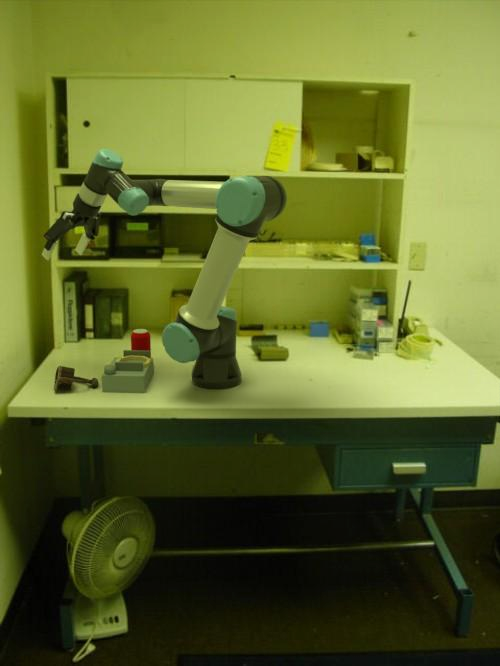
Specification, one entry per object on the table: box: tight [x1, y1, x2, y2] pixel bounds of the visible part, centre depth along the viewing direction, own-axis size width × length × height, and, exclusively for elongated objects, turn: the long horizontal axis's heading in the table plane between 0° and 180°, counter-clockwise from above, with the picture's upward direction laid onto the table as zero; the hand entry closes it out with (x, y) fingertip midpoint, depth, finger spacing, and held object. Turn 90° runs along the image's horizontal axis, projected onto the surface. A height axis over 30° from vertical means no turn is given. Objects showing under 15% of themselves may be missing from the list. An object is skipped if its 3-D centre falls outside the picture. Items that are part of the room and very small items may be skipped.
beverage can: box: [130, 328, 152, 358], centre depth 197 cm, size 6×6×12 cm
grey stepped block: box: [101, 349, 155, 394], centre depth 183 cm, size 12×17×8 cm
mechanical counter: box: [53, 365, 99, 391], centre depth 178 cm, size 7×13×10 cm
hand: (62, 254), depth 189 cm, fingers open, 13 cm apart
